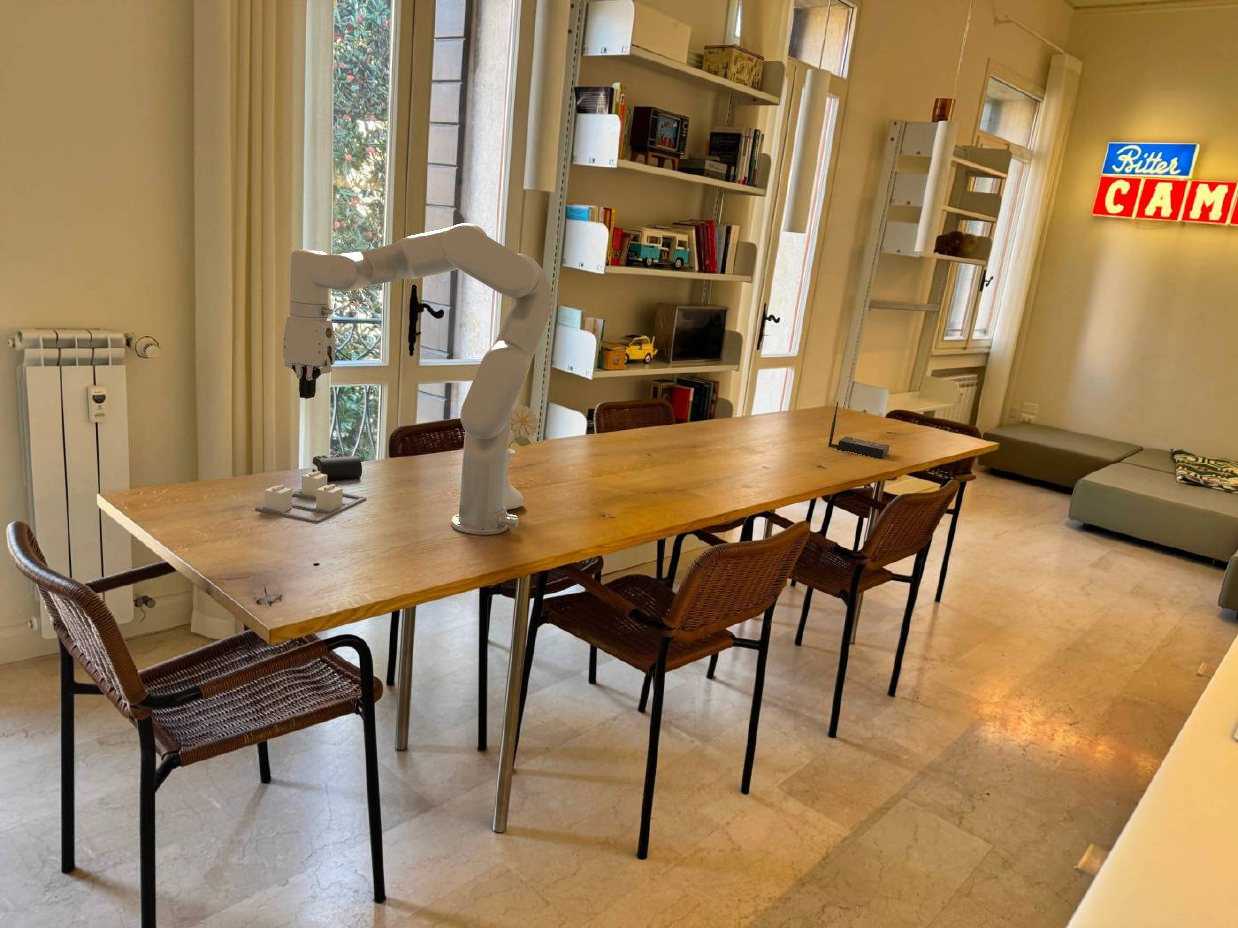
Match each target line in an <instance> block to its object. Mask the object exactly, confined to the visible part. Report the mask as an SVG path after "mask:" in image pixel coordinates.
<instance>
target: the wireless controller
mask: <svg viewBox="0 0 1238 928" xmlns="http://www.w3.org/2000/svg"><path fill="white" fill-rule="evenodd" d="M838 406H839V401H837V402H836V407H835V410H834V416H833V419H832V423H831V429H830V435H829V438H828V440H829V441H828V445H827V447H828V446H831V447H832V448H835V449H836V450H837V451H839V450H841V452H844V451H849V452H854V453H857V454H856V455H858V454H862V455H861V456H863V455H865V456H864V457H867V456H870V457H869V458H872V457H873V459H877V458H878V459H877V460H881V459H882V460H884V457H885V456H886V455H887V454H888V455H889V450H890V445H891V444H886V443H885V444H883V443H882V444H881V443H877V442H872V441H869V440H868V441H867V440H863V439H858V438H857V439H856V438H853V437H851V436H845V437H842V438H841V439H839V440H838V442H837V444H836V443H833V439H834V438H833V437H834V434H835V428H836V422H837V412H838ZM849 452H848V453H849ZM888 455H887V456H888ZM887 456H886V457H887ZM886 457H885V458H886Z"/></svg>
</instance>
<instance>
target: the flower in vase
mask: <svg viewBox="0 0 1238 928" xmlns="http://www.w3.org/2000/svg"><path fill="white" fill-rule="evenodd" d="M538 428H539V420H538V418H537V415H536V413H534V411H533V409H532V408H530V407H528V406H527V405H525V406H523V405H522V404H519V405H518V406H516V407H515V408H512V417H511V425H510V431H512V434H513V435H514V437H513V438H512V441H510V443H509V442H508V454H507V463H506V475H505V487H504V499H503V507H507V511H508V510H514V509H517V508H520V507H522V506H523V504H525V498H524V496H523V495H522V493H521V492H520V491H519V490H518V489H516V488H515V486H513V485H512V484H511V483H510V481H509V478H508V470H509V466H510V465H509V464H510V462H511V459H512V457H513V455H514V454H515V453H516V451H515V450H514V449H511V448H510V447H511V446H512V445H513V443H514V442H516V444H517V445H518V446H520V447H527V446H529V445H531V444H532V442H531V440H530V439H529V438H530V436H533V435H534V434H536V433H537V429H538Z"/></svg>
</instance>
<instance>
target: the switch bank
mask: <svg viewBox="0 0 1238 928" xmlns="http://www.w3.org/2000/svg"><path fill="white" fill-rule="evenodd" d="M294 497H297V498H302V499H306V500H307V499H308V500H312V501H316V497H315V496H310V495H305V494H302V488H300V489H298V490H295V491H292V498H294ZM342 497H344V498H351V499H355V500H353V501H350V502H349V503H348V502H343V501H342V507H340V508H338V509H336V510H333V511H327V510H323V509H318V508H316V507H314V506H313V507H312V506H309V505H308V506H307V505H304V504H303V505H302V504H298V503H293V502H292V508H294V509H295V508H296V509H299V510H306V511H309V512H314V513H320V514H323V515H321V516H319V517H317V518H314V517H309V516H303V515H299V514H294V513H289V512H286V511H285V512H281V511H276V510H271V509H267V508H264V503H263V504H261V505H258V506H256V507H255V509H254V510H255V511H259V512H263V513H268V514H271V515H276V516H281V517H286V518H291V519H296V520H300V521H305V522H309V523H313V524H320V523H321V522H323V521H326V520H328V519H330V518H331V517H333V516H336V515H338V514H340V513H342V512H345V511H346V510H348V509H350V508H353V507H354V506H357V505H359V504H361V503H363V502H364V501H367V497H364V496H362V495H361V496H360V495H357V494H356V495H355V494H351V493H345V492H343V495H342Z"/></svg>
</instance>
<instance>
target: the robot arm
mask: <svg viewBox="0 0 1238 928" xmlns="http://www.w3.org/2000/svg"><path fill="white" fill-rule="evenodd" d="M289 268H290V269H289V270H290V275H289V278H290V279H289V283H290V284H289V291H290V292H289V315H288V314H287V317H286V320H285V325H284V330H283V339H282V358H283V360H284V366H285V367H286V368H288V369H291V370H293V372H294V373H295V375H296V378H297V379H298V392H299V398H300V399H305V400H307V399H312V398H315V397H316V393H317V380H318V379H320V378H319V377H320V376H321V375H323V374H331V373H332V366H333V365H335V362H336V341H335V331H334V325H333V321H332V319H330V318H329V316H332V315H333V313H334V311H333V309H332V308H330V307H329V306H330V305H329V292H330V290H334V291H338V292H352V291H355V290H359V289H363V288H368V287H372V286H377V285H380V284H385V283H390V282H395V281H400V280H415V279H416V280H417V279H421V278H425V277H426V278H427V277H430V276H435V275H439V274H443V273H448V272H453V271H457V270H458V271H459V270H460V271H461V272H463V273H465V274H466V275H468V276H469V277H471V278H473V279H475V280H477V281H478V282H480V283H482V284H484V285H485V286H486V287H488V288H491V289H492V290H494V292H497V293H499V294H501V295H502V296H506V298H511V302H510V305H509V308H508V311H507V313H506V316H505V317H504V320H503V322H502V325H501V328H500V330H499V332H498V335H497V337H496V339H495V341H494V343H493V345H492V346H491V347H490V348H489V349H488V350H487V352H486V353H485V354H484V355H483V358H482V359H481V361H480V364H479V366H478V368H477V370H476V372H475V375H474V377H473V380H472V382H471V385H470V388H469V389H468V391H467V394H466V396H465V397H464V398H465V399H464V401H463V403H462V406H461V409H460V415H459V416H460V423H461V425H462V428H463V429H464V431H465V432H464V438H463V439H464V441H463V453H462V465H461V479H460V480H461V481H460V491H459V493H460V494H459V509H458V513H457V514H455V515H453V516H452V518H451V519H450V520H451V522H450V523H451V524H450V525H451V526H452V527H453V528H454V529H455V530H457V531H460V532H462V533H466V534H469V535H470V534H471V535H477V536H478V535H479V536H487V535H488V536H489V535H497V534H501V533H503V532H506V531H507V530H508V528H509V527H513V528H514V527H515V528H518V526H519V522H520V519H519V518H518V517H519V516H518V515H515V514H514V515H513V514H510V513H509V512H508V510H507V507H503V499H504V487H505V475H506V463H507V454H508V446H509V445H508V443H509V439H510V431H511V429H510V425H511V417H512V409H514V408H513V407H514V405H515V404H516V402H517V399H518V397H519V395H520V393H521V391H522V390H521V389H522V388H523V386H524V383H525V381H526V379H527V377H528V375H529V373H530V368H531V365H532V361H533V358H534V356H535V354H536V352H537V349H538V347H539V344H540V341H541V340H542V339H541V338H542V336H543V334H544V332H545V329H546V326H547V323H548V321H549V318H550V315H551V312H552V311H551V310H552V304H553V298H552V297H553V296H552V289H551V285H550V281H549V279H548V276H547V275H546V273H545V271H544V270H543V268H542V266H541V265H539V263H538V262H537V261H536V260H535V259H534V258H533V257H531V256H529V255H527V254H524V253H519V252H518V253H517V252H515V251H513V250H512V249H509V248H508V247H506V246H505V245H503V244H502V243H499V242H498V241H495V240H494V239H492V238H491V236H490V237H489V236H488V234H487V233H486V232H485V230H484V229H483V228H482V227H480V226H479V225H477V224H474V223H460V224H456V225H453V226H451V227H446V228H442V229H438V230H437V229H436V230H433V231H429V232H424V233H423V232H422V233H419V234H415V235H414V234H413V235H410V236H409V235H408V236H406V237H404V238H401V239H399V240H398V241H396V242H393V243H390V244H387V245H383V246H379V247H375V248H371V249H365V250H361V251H354V252H346V253H332V254H331V253H330V254H328V253H326V252H324V251H320V250H312V249H301V248H300V249H295V250H293V251H292V252H291V254H290V267H289Z"/></svg>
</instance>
